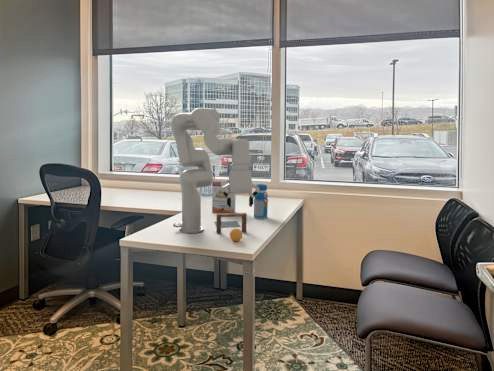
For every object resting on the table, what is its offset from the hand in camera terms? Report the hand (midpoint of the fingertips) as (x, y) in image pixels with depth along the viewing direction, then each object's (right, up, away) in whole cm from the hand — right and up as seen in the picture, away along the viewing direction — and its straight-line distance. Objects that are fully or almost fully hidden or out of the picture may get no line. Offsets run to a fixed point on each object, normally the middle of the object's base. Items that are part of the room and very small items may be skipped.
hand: (240, 206), depth 171 cm
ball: (-2, -14, +11) cm, 18 cm away
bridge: (-5, -15, +27) cm, 31 cm away
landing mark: (-8, -12, +44) cm, 46 cm away
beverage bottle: (+11, -10, +61) cm, 63 cm away
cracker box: (-12, -8, +75) cm, 77 cm away
